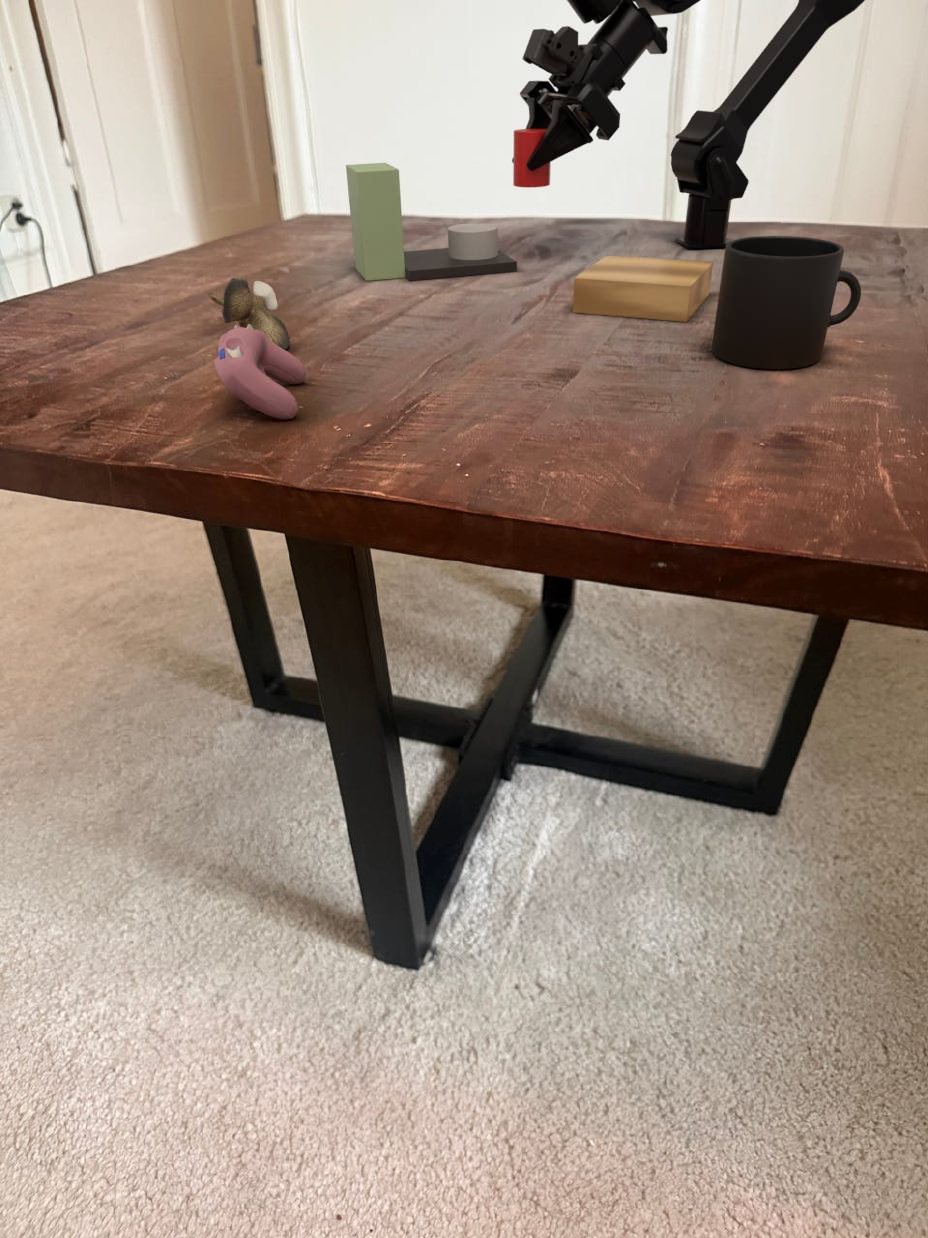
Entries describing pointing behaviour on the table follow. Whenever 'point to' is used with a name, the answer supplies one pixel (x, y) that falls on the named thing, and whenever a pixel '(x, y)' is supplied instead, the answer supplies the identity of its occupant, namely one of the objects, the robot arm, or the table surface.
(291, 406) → the video game controller
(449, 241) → the coffee maker
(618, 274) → the block
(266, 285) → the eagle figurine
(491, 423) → the table surface
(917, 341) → the table surface
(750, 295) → the mug
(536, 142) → the cylinder
